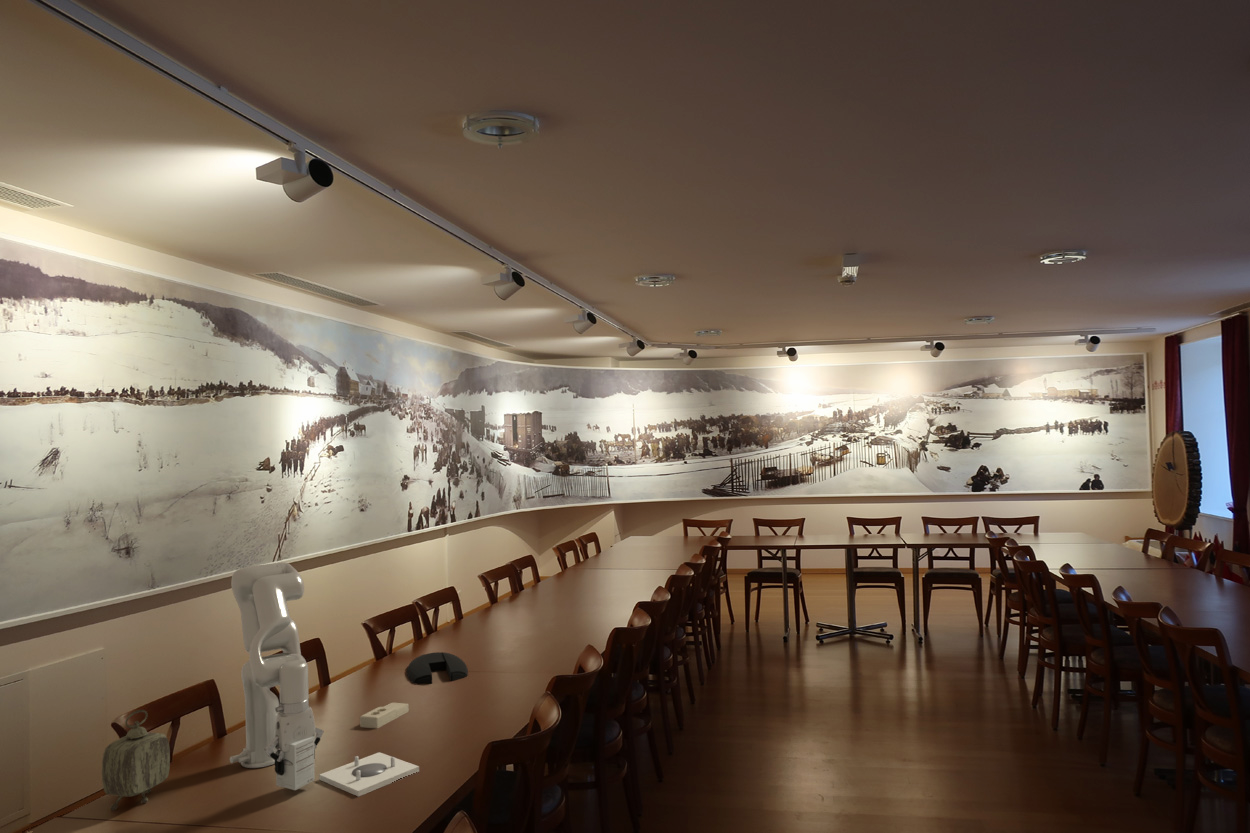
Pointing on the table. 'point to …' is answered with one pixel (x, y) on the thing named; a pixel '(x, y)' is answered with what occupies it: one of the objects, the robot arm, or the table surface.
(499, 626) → the table surface
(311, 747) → the supplement box
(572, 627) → the table surface
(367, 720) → the electrical outlet
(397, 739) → the table surface
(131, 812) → the table surface
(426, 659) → the docking station
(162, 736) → the tabletop clock
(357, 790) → the locating plate
